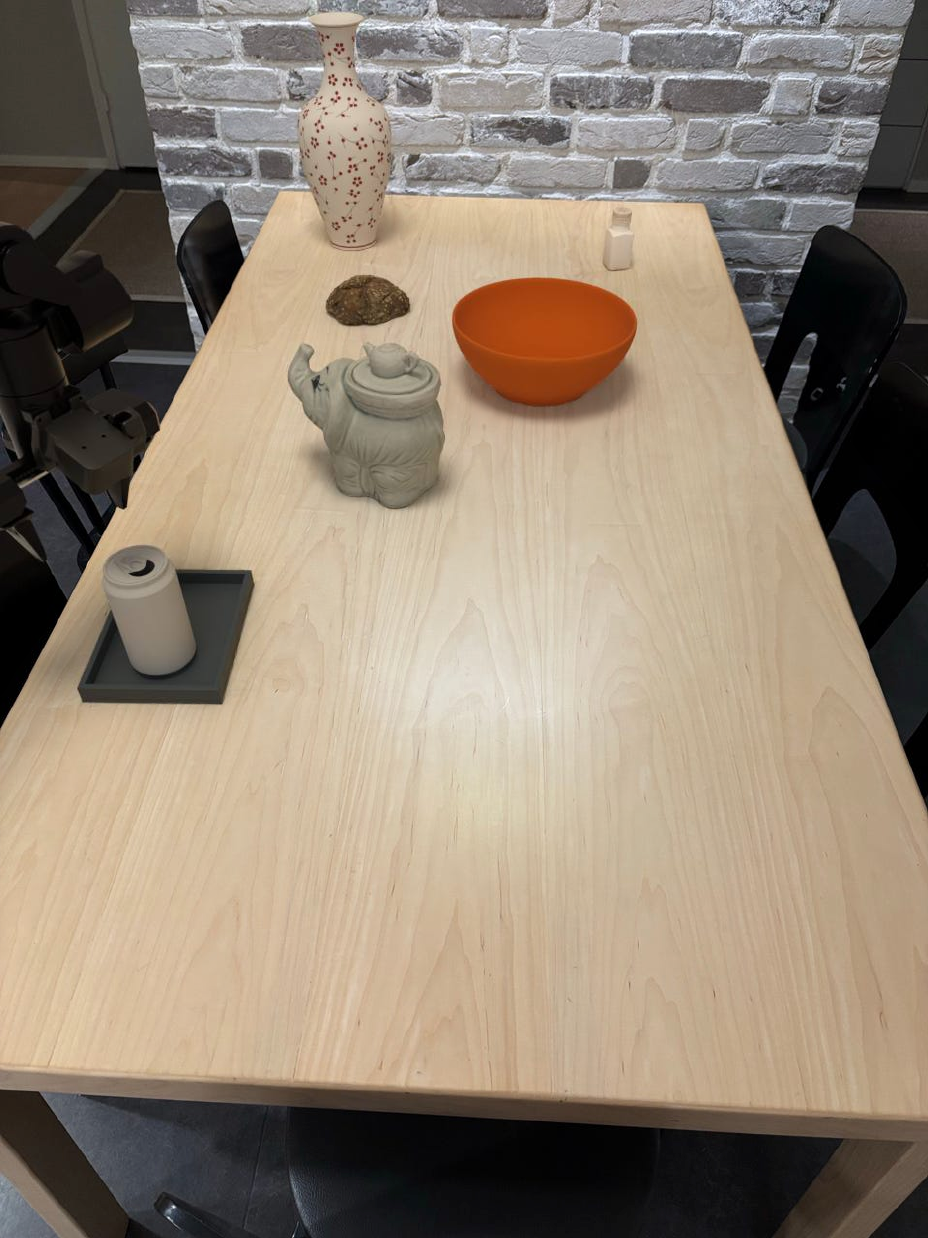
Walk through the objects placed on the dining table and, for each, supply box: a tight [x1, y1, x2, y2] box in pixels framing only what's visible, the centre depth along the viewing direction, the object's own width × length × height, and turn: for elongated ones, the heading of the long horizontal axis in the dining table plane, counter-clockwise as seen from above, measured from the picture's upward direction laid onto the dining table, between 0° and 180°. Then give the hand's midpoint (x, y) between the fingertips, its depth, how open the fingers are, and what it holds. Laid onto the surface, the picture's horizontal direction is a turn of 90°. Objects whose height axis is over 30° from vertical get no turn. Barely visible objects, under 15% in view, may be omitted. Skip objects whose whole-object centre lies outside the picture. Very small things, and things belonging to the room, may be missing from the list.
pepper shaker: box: [602, 206, 635, 271], centre depth 157 cm, size 4×4×10 cm
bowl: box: [451, 276, 638, 408], centre depth 127 cm, size 25×25×10 cm
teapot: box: [287, 341, 446, 509], centre depth 106 cm, size 16×15×19 cm
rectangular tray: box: [76, 568, 255, 705], centre depth 92 cm, size 17×13×2 cm
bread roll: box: [325, 274, 411, 326], centre depth 146 cm, size 13×12×5 cm
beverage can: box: [101, 544, 196, 675], centre depth 86 cm, size 6×6×12 cm
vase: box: [296, 11, 392, 251], centre depth 156 cm, size 16×16×35 cm
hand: (83, 532), depth 84 cm, fingers open, 9 cm apart
